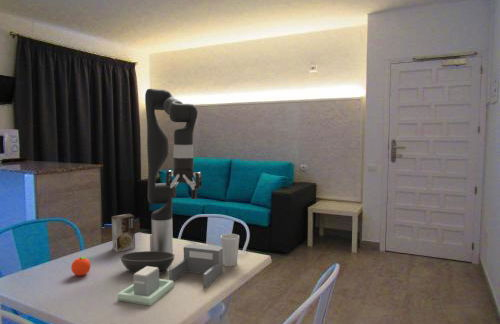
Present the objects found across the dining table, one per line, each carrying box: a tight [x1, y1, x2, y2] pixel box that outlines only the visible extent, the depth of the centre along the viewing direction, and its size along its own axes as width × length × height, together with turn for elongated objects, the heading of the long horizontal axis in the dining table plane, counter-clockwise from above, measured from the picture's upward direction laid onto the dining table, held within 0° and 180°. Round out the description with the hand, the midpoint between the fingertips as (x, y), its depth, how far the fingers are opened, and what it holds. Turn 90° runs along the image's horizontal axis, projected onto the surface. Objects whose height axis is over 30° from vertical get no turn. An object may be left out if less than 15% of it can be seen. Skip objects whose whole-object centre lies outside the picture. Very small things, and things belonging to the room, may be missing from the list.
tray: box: [117, 278, 175, 307], centre depth 131 cm, size 12×15×2 cm
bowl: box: [119, 250, 175, 274], centre depth 152 cm, size 12×22×6 cm, turn 90°
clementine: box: [70, 256, 92, 277], centre depth 148 cm, size 8×7×7 cm
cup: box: [220, 233, 240, 267], centre depth 160 cm, size 8×8×12 cm
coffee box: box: [111, 213, 136, 253], centre depth 180 cm, size 9×6×16 cm
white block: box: [133, 266, 160, 297], centre depth 130 cm, size 5×9×8 cm, turn 162°
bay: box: [168, 243, 224, 288], centre depth 145 cm, size 15×16×10 cm
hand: (183, 198), depth 144 cm, fingers open, 8 cm apart
